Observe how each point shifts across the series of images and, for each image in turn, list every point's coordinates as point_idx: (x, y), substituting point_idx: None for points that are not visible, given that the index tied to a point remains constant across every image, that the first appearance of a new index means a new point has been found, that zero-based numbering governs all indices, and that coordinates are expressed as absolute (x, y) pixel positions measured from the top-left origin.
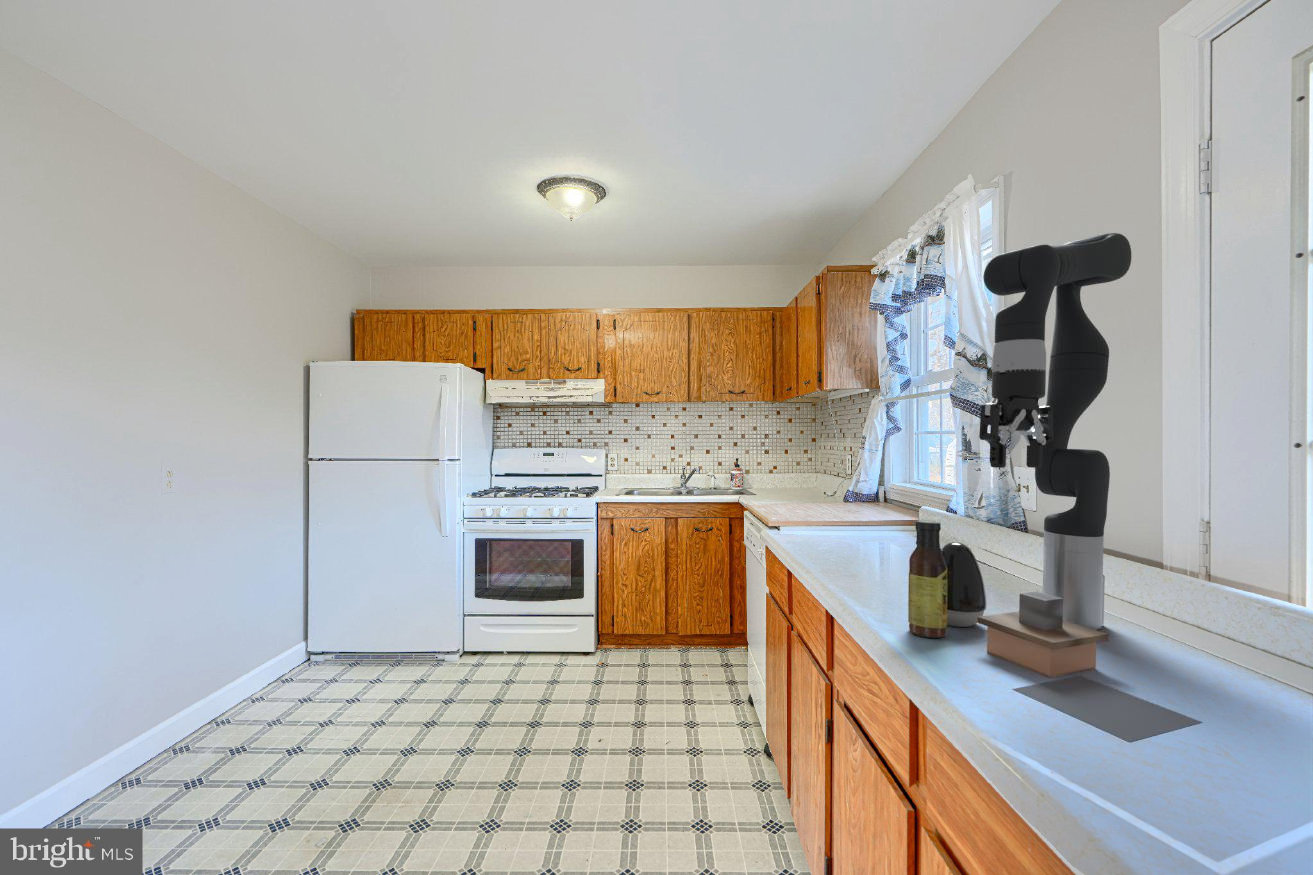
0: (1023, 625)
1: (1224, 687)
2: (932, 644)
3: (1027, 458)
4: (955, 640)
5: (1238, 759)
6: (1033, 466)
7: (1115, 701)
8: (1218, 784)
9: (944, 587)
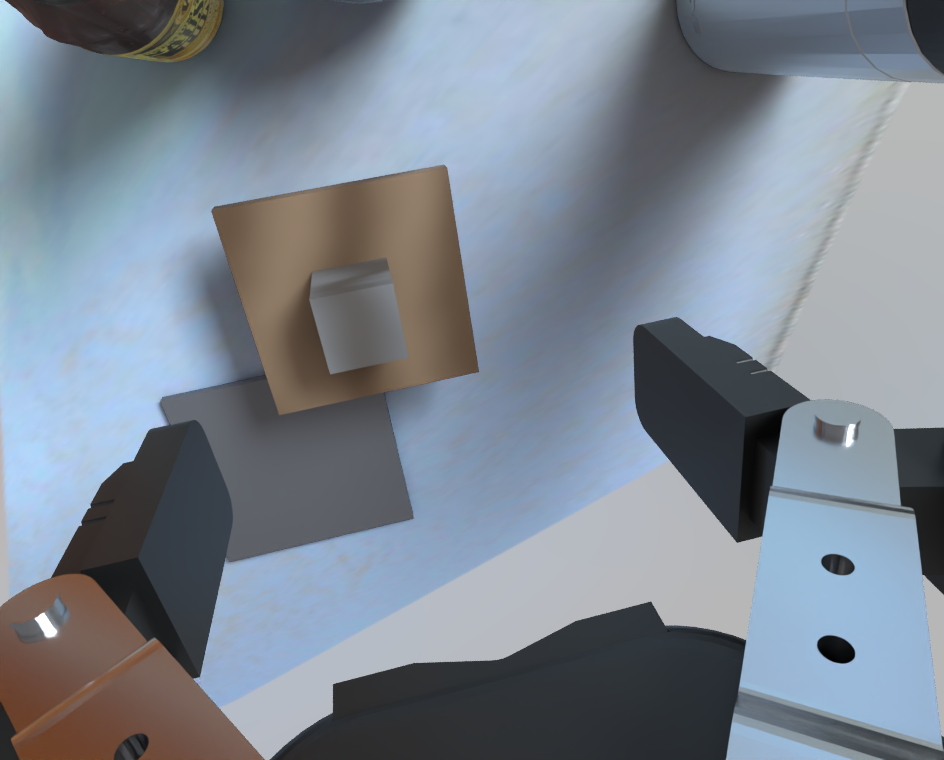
0: (302, 298)
1: (626, 401)
2: (129, 96)
3: (667, 359)
4: (231, 74)
5: (364, 580)
6: (636, 380)
7: (335, 456)
8: (270, 621)
9: (157, 51)
